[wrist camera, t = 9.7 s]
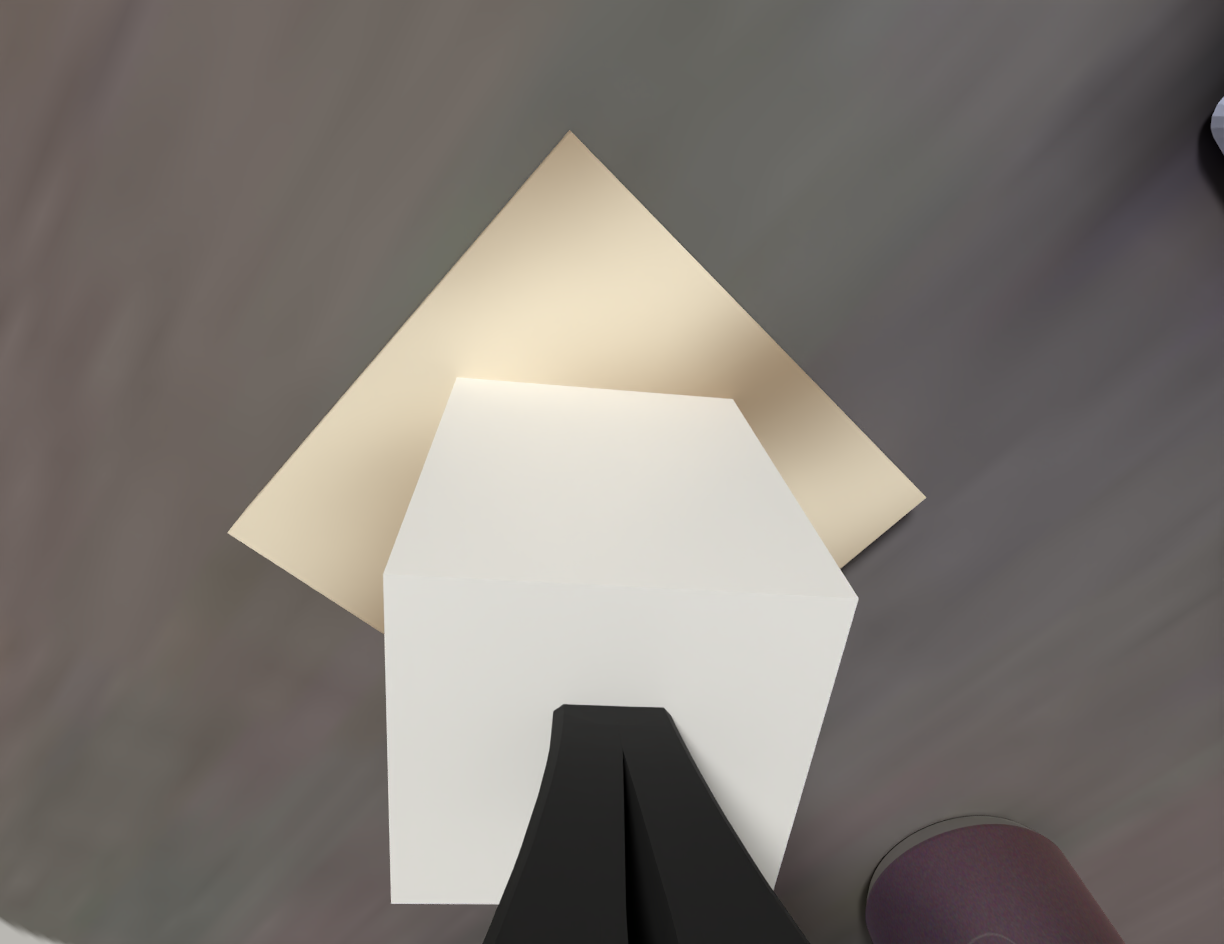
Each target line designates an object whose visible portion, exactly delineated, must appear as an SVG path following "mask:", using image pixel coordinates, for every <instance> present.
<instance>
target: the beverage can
mask: <svg viewBox="0 0 1224 944" xmlns="http://www.w3.org/2000/svg"><path fill="white" fill-rule="evenodd" d="M865 918H866V925H867V928H868V931H869V934H870V936H871V939H872V942H873V944H1125V942H1124V941H1123V940H1122V938H1121V937H1120V935H1119V934H1118V932H1117V931H1116V929H1115V928H1114V927H1113V925H1112V924H1111V922H1110V921H1109V919H1108V918H1107V916H1106V915H1105V914H1104V912H1103V911H1102V909H1101V908H1100V906H1099V905H1098V903H1097V902H1096V900H1095V899H1094V898H1093V896H1092V895H1091V893H1090V892H1089V890H1088V889H1087V887H1086V886H1085V885H1084V883H1083V882H1082V880H1081V879H1080V877H1079V876H1078V874H1077V873H1076V872H1075V870H1074V869H1073V867H1072V866H1071V864H1070V863H1069V861H1068V860H1067V859H1066V857H1065V856H1064V854H1063V853H1062V851H1061V850H1060V849H1059V848H1058V847H1057V846H1056V845H1055V844H1054V843H1053V842H1052V841H1050V840H1049V839H1047V838H1046V837H1044V836H1042V835H1041V834H1039V833H1037V832H1035V831H1033V830H1032V829H1030V828H1028V827H1026V826H1024V825H1022V824H1019V823H1017V822H1014V821H1011V820H1008V819H1004V818H999V817H993V816H967V817H960V818H954V819H950V820H946V821H942V822H939V823H936V824H934V825H931V826H928V827H926V828H924V829H922V830H920V831H918V832H916V833H914V834H912V835H911V836H909V837H907V838H906V839H904V840H903V841H902V842H900V843H899V844H898V845H897V846H895V847H894V848H893V849H892V850H891V851H890V852H889V853H888V854H887V855H886V856H885V857H884V859H883V860H882V861H881V862H880V864H879V865H878V867H877V869H876V870H875V872H874V875H873V877H872V879H871V883H870V886H869V891H868V897H867V903H866V912H865Z"/></svg>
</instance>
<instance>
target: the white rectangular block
mask: <svg viewBox="0 0 1224 944" xmlns="http://www.w3.org/2000/svg"><path fill="white" fill-rule="evenodd" d="M383 593H384V633H385V674H386V714H387V754H388V795H389V835H390V875H391V904H499V903H500V900H501V898H502V895H503V893H504V890H505V888H506V885H507V883H508V880H509V878H510V875H511V873H512V870H513V868H514V865H515V862H516V860H517V857H518V854H519V851H520V849H521V846H522V843H523V840H524V836H525V833H526V830H527V827H528V824H529V821H530V818H531V815H532V812H533V809H534V806H535V803H536V800H537V797H538V793H539V790H540V786H541V782H542V778H543V774H544V771H545V767H546V763H547V758H548V753H549V748H550V739H551V729H552V718H553V711H554V710H556V709H557V708H558V707H560V706H561V705H563V704H573V705H601V706H629V707H664V708H665V709H666V710H667V712H668V713H669V714H670V715H671V716H672V719H673V721H674V723H675V725H676V727H677V729H678V731H679V733H680V735H681V737H682V739H683V741H684V743H685V744H686V746H687V748H688V750H689V752H690V754H691V756H692V758H693V760H694V761H695V763H696V765H697V767H698V769H699V771H700V772H701V774H702V776H703V778H704V779H705V781H706V783H707V785H708V787H709V788H710V790H711V792H712V794H713V795H714V797H715V799H716V801H717V802H718V804H719V806H720V807H721V809H722V811H723V812H724V814H725V816H726V817H727V819H728V821H729V822H730V824H731V825H732V827H733V829H734V830H735V832H736V833H737V835H738V837H739V838H740V840H741V841H742V843H743V845H744V846H745V848H746V849H747V851H748V853H749V854H750V856H751V857H752V859H753V861H754V862H755V864H756V865H757V867H758V869H759V870H760V872H761V873H762V875H763V876H764V878H765V879H766V881H767V882H768V884H769V885H770V887H771V888H772V890H774V887H775V883H776V880H777V876H778V873H779V870H780V866H781V863H782V859H783V856H784V852H785V849H786V846H787V842H788V839H789V835H790V832H791V828H792V825H793V822H794V818H795V815H796V811H797V808H798V805H799V801H800V798H801V794H802V791H803V787H804V784H805V781H806V777H807V774H808V770H809V767H810V763H811V760H812V757H813V753H814V750H815V746H816V743H817V739H818V736H819V733H820V729H821V726H822V722H823V719H824V715H825V712H826V709H827V705H828V702H829V698H830V695H831V691H832V688H833V685H834V681H835V678H836V674H837V671H838V668H839V664H840V661H841V657H842V654H843V650H844V647H845V644H846V640H847V637H848V633H849V630H850V626H851V623H852V620H853V616H854V613H855V609H856V606H857V602H858V599H859V598H858V597H857V595H856V594H855V592H854V590H853V589H852V587H851V586H850V584H849V582H848V581H847V579H846V578H845V576H844V574H843V573H842V571H841V570H840V568H839V567H838V565H837V563H836V562H835V560H834V559H833V557H832V555H831V554H830V552H829V551H828V549H827V548H826V546H825V544H824V543H823V541H822V540H821V538H820V536H819V535H818V533H817V532H816V530H815V529H814V527H813V525H812V524H811V522H810V521H809V519H808V517H807V516H806V514H805V513H804V511H803V510H802V508H801V506H800V505H799V503H798V502H797V500H796V498H795V497H794V495H793V494H792V492H791V491H790V489H789V487H788V486H787V484H786V483H785V481H784V479H783V478H782V476H781V475H780V473H779V471H778V470H777V468H776V467H775V465H774V464H773V462H772V460H771V459H770V457H769V456H768V454H767V452H766V451H765V449H764V448H763V446H762V445H761V443H760V441H759V440H758V438H757V437H756V435H755V433H754V432H753V430H752V429H751V427H750V426H749V424H748V422H747V421H746V419H745V418H744V416H743V414H742V413H741V411H740V410H739V408H738V407H737V405H736V403H735V402H734V400H733V399H726V398H713V397H701V396H688V395H675V394H663V393H650V392H637V391H625V390H612V389H600V388H587V387H574V386H562V385H549V384H536V383H524V382H511V381H498V380H486V379H473V378H460V377H457V378H456V381H455V383H454V386H453V389H452V391H451V394H450V397H449V399H448V402H447V405H446V407H445V410H444V413H443V415H442V418H441V421H440V423H439V426H438V429H437V431H436V434H435V437H434V439H433V442H432V445H431V447H430V450H429V453H428V455H427V458H426V461H425V463H424V466H423V469H422V471H421V474H420V477H419V479H418V482H417V485H416V488H415V490H414V493H413V496H412V498H411V501H410V504H409V506H408V509H407V512H406V514H405V517H404V520H403V522H402V525H401V528H400V530H399V533H398V536H397V538H396V541H395V544H394V546H393V549H392V552H391V554H390V557H389V560H388V562H387V565H386V568H385V570H384V573H383Z"/></svg>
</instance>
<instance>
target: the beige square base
mask: <svg viewBox="0 0 1224 944" xmlns="http://www.w3.org/2000/svg"><path fill="white" fill-rule="evenodd" d="M457 377H460V378H473V379H486V380H498V381H511V382H524V383H536V384H549V385H562V386H574V387H587V388H600V389H612V390H625V391H637V392H650V393H663V394H675V395H688V396H701V397H713V398H726V399H733V400H734V402H735V403H736V405H737V407H738V408H739V410H740V411H741V413H742V414H743V416H744V418H745V419H746V421H747V422H748V424H749V426H750V427H751V429H752V430H753V432H754V433H755V435H756V437H757V438H758V440H759V441H760V443H761V445H762V446H763V448H764V449H765V451H766V452H767V454H768V456H769V457H770V459H771V460H772V462H773V464H774V465H775V467H776V468H777V470H778V471H779V473H780V475H781V476H782V478H783V479H784V481H785V483H786V484H787V486H788V487H789V489H790V491H791V492H792V494H793V495H794V497H795V498H796V500H797V502H798V503H799V505H800V506H801V508H802V510H803V511H804V513H805V514H806V516H807V517H808V519H809V521H810V522H811V524H812V525H813V527H814V529H815V530H816V532H817V533H818V535H819V536H820V538H821V540H822V541H823V543H824V544H825V546H826V548H827V549H828V551H829V552H830V554H831V555H832V557H833V559H834V560H835V562H836V563H837V565H838V567H839V568H840V569H841V568H842V567H843V566H844V565H845V564H847V563H848V562H849V561H850V560H851V559H853V558H854V557H855V556H856V555H857V554H859V553H860V552H861V551H862V550H863V549H865V548H866V547H867V546H868V545H870V544H871V543H872V542H873V541H874V540H876V539H877V538H878V537H879V536H880V535H882V534H883V533H884V532H885V531H886V530H888V529H889V528H890V527H891V526H893V525H894V524H895V523H896V522H897V521H899V520H900V519H901V518H902V517H903V516H905V515H906V514H907V513H908V512H909V511H911V510H912V509H913V508H914V507H915V506H917V505H918V504H919V503H920V502H922V501H923V500H924V499H925V498H926V497H925V496H924V495H923V494H922V493H921V492H920V491H919V490H918V488H917V487H916V486H915V485H914V484H913V483H912V482H911V481H910V480H909V479H908V478H907V477H906V476H905V475H904V474H903V473H902V472H901V471H900V470H899V469H898V468H897V467H896V466H895V465H894V464H893V463H892V462H891V461H890V460H889V459H888V458H887V457H886V456H885V454H884V453H883V452H882V451H881V450H880V449H879V448H878V447H877V446H876V445H875V444H874V443H873V442H872V441H871V440H870V439H869V438H868V437H867V436H866V435H865V434H864V433H863V432H862V431H861V430H860V429H859V428H858V427H857V426H856V425H855V424H854V423H853V422H852V421H851V419H850V418H849V417H848V416H847V415H846V414H845V413H844V412H843V411H842V410H841V409H840V408H839V407H838V406H837V405H836V404H835V403H834V402H833V401H832V400H831V399H830V398H829V397H828V396H827V395H826V394H825V393H824V392H823V391H822V390H821V389H820V388H819V387H818V385H817V384H816V383H815V382H814V381H813V380H812V379H811V378H810V377H809V376H808V375H807V374H806V373H805V372H804V371H803V370H802V369H801V368H800V367H799V366H798V365H797V364H796V363H795V362H794V361H793V360H792V359H791V358H790V357H789V356H788V355H787V354H786V353H785V351H784V350H783V349H782V348H781V347H780V346H779V345H778V344H777V343H776V342H775V341H774V340H773V339H772V338H771V337H770V336H769V335H768V334H767V333H766V332H765V331H764V330H763V329H762V328H761V327H760V326H759V325H758V324H757V323H756V322H755V321H754V320H753V319H752V317H751V316H750V315H749V314H748V313H747V312H746V311H745V310H744V309H743V308H742V307H741V306H740V305H739V304H738V303H737V302H736V301H735V300H734V299H733V298H732V297H731V296H730V295H729V294H728V293H727V292H726V291H725V290H724V289H723V288H722V287H721V286H720V285H719V283H718V282H717V281H716V280H715V279H714V278H713V277H712V276H711V275H710V274H709V273H708V272H707V271H706V270H705V269H704V268H703V267H702V266H701V265H700V264H699V263H698V262H697V261H696V260H695V259H694V258H693V257H692V256H691V255H690V254H689V253H688V252H687V251H686V249H685V248H684V247H683V246H682V245H681V244H680V243H679V242H678V241H677V240H676V239H675V238H674V237H673V236H672V235H671V234H670V233H669V232H668V231H667V230H666V229H665V228H664V227H663V226H662V225H661V224H660V223H659V222H658V221H657V220H656V219H655V218H654V217H653V215H652V214H651V213H650V212H649V211H648V210H647V209H646V208H645V207H644V206H643V205H642V204H641V203H640V202H639V201H638V200H637V199H636V198H635V197H634V196H633V195H632V194H631V193H630V192H629V191H628V190H627V189H626V188H625V187H624V186H623V185H622V184H621V183H620V182H619V180H618V179H617V178H616V177H615V176H614V175H613V174H612V173H611V172H610V171H609V170H608V169H607V168H606V167H605V166H604V165H603V164H602V163H601V162H600V161H599V160H598V159H597V158H596V157H595V156H594V155H593V154H592V153H591V152H590V151H589V150H588V149H587V148H586V146H585V145H584V144H583V143H582V142H581V141H580V140H579V139H578V138H577V137H576V136H575V135H574V134H573V133H572V132H571V131H570V130H569V131H568V133H567V134H566V135H565V136H564V137H563V139H562V140H561V141H560V142H559V143H558V144H557V146H556V147H555V148H554V149H553V150H552V151H551V153H550V154H549V155H548V156H547V157H546V158H545V160H544V161H543V162H542V163H541V164H540V165H539V167H538V168H537V169H536V170H535V171H534V172H533V174H532V175H531V176H530V177H529V178H528V179H527V181H526V182H525V183H524V184H523V185H522V187H521V188H520V189H519V190H518V191H517V192H516V194H515V195H514V196H513V197H512V198H511V199H510V201H509V202H508V203H507V204H506V205H505V206H504V208H503V209H502V210H501V211H500V212H499V213H498V215H497V216H496V217H495V218H494V219H493V220H492V222H491V223H490V224H489V225H488V226H487V227H486V229H485V230H484V231H483V232H482V233H481V235H480V236H479V237H478V238H477V239H476V240H475V242H474V243H473V244H472V245H471V246H470V247H469V249H468V250H467V251H466V252H465V253H464V254H463V256H462V257H461V258H460V259H459V260H458V261H457V263H456V264H455V265H454V266H453V267H452V268H451V270H450V271H449V272H448V273H447V274H446V275H445V277H444V278H443V279H442V280H441V281H440V282H439V284H438V285H437V286H436V287H435V288H434V290H433V291H432V292H431V293H430V294H429V295H428V297H427V298H426V299H425V300H424V301H423V302H422V304H421V305H420V306H419V307H418V308H417V309H416V311H415V312H414V313H413V314H412V315H411V316H410V318H409V319H408V320H407V321H406V322H405V323H404V325H403V326H402V327H401V328H400V329H399V330H398V332H397V333H396V334H395V335H394V336H393V338H392V339H391V340H390V341H389V342H388V343H387V345H386V346H385V347H384V348H383V349H382V350H381V352H380V353H379V354H378V355H377V356H376V357H375V359H374V360H373V361H372V362H371V363H370V364H369V366H368V367H367V368H366V369H365V370H364V371H363V373H362V374H361V375H360V376H359V377H358V378H357V380H356V381H355V382H354V383H353V384H352V386H351V387H350V388H349V389H348V390H347V391H346V393H345V394H344V395H343V396H342V397H341V398H340V400H339V401H338V402H337V403H336V404H335V405H334V407H333V408H332V409H331V410H330V411H329V412H328V414H327V415H326V416H325V417H324V418H323V419H322V421H321V422H320V423H319V424H318V425H317V426H316V428H315V429H314V430H313V431H312V432H311V434H310V435H309V436H308V437H307V438H306V439H305V441H304V442H303V443H302V444H301V445H300V446H299V448H298V449H297V450H296V451H295V452H294V453H293V455H292V456H291V457H290V458H289V459H288V460H287V462H286V463H285V464H284V465H283V466H282V467H281V469H280V470H279V471H278V472H277V473H276V474H275V476H274V477H273V478H272V479H271V480H270V482H269V483H268V484H267V485H266V486H265V487H264V489H263V490H262V491H261V492H260V493H259V494H258V496H257V497H256V498H255V499H254V500H253V501H252V503H251V504H250V505H249V506H248V507H247V508H246V510H245V511H244V512H243V513H242V515H241V516H240V517H239V519H238V520H237V521H236V522H235V524H234V525H233V526H232V528H231V529H230V530H229V531H228V533H229V534H230V535H232V536H233V537H235V538H236V539H238V540H239V541H241V542H242V543H244V544H246V545H247V546H249V547H250V548H252V549H253V550H255V551H256V552H258V553H259V554H261V555H263V556H264V557H266V558H267V559H269V560H270V561H272V562H273V563H275V564H276V565H278V566H280V567H281V568H283V569H284V570H286V571H287V572H289V573H290V574H292V575H293V576H295V577H297V578H298V579H300V580H301V581H303V582H304V583H306V584H307V585H309V586H310V587H312V588H314V589H315V590H317V591H318V592H320V593H321V594H323V595H324V596H326V597H327V598H329V599H331V600H332V601H334V602H335V603H337V604H338V605H340V606H341V607H343V608H344V609H346V610H348V611H349V612H351V613H352V614H354V615H355V616H357V617H358V618H360V619H361V620H363V621H365V622H366V623H368V624H369V625H371V626H372V627H374V628H375V629H377V630H378V631H380V632H382V633H383V634H385V633H384V593H383V573H384V570H385V568H386V565H387V562H388V560H389V557H390V554H391V552H392V549H393V546H394V544H395V541H396V538H397V536H398V533H399V530H400V528H401V525H402V522H403V520H404V517H405V514H406V512H407V509H408V506H409V504H410V501H411V498H412V496H413V493H414V490H415V488H416V485H417V482H418V479H419V477H420V474H421V471H422V469H423V466H424V463H425V461H426V458H427V455H428V453H429V450H430V447H431V445H432V442H433V439H434V437H435V434H436V431H437V429H438V426H439V423H440V421H441V418H442V415H443V413H444V410H445V407H446V405H447V402H448V399H449V397H450V394H451V391H452V389H453V386H454V383H455V381H456V378H457Z"/></svg>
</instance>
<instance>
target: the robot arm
mask: <svg viewBox="0 0 1224 944" xmlns="http://www.w3.org/2000/svg"><path fill="white" fill-rule="evenodd" d="M1211 131H1212V134H1213V138H1214V139H1215V141H1216V143H1217V144H1218V146H1219V148H1220V149H1221V151H1222V153H1223V154H1224V97H1223V98H1222V99H1221V101H1220V102H1219V103H1218V104H1217V106H1216V108H1215V111H1214V113H1213V115H1212V120H1211ZM483 944H810V943H809V941H808V940H807V939H806V937H805V936H804V934H803V933H802V931H801V930H800V929H799V927H798V926H797V924H796V923H795V921H794V920H793V919H792V917H791V916H790V914H789V913H788V911H787V910H786V909H785V907H784V906H783V904H782V903H781V901H780V900H779V899H778V897H777V896H776V894H775V893H774V891H773V890H772V888H771V887H770V885H769V884H768V882H767V881H766V879H765V878H764V876H763V875H762V873H761V872H760V870H759V869H758V867H757V865H756V864H755V862H754V861H753V859H752V857H751V856H750V854H749V853H748V851H747V849H746V848H745V846H744V845H743V843H742V841H741V840H740V838H739V837H738V835H737V833H736V832H735V830H734V829H733V827H732V825H731V824H730V822H729V821H728V819H727V817H726V816H725V814H724V812H723V811H722V809H721V807H720V806H719V804H718V802H717V801H716V799H715V797H714V795H713V794H712V792H711V790H710V788H709V787H708V785H707V783H706V781H705V779H704V778H703V776H702V774H701V772H700V771H699V769H698V767H697V765H696V763H695V761H694V760H693V758H692V756H691V754H690V752H689V750H688V748H687V746H686V744H685V743H684V741H683V739H682V737H681V735H680V733H679V731H678V729H677V727H676V725H675V723H674V721H673V719H672V716H671V715H670V714H669V713H668V712H667V710H666V709H665V708H664V707H629V706H601V705H573V704H563V705H561V706H560V707H558V708H557V709H556V710H554V711H553V718H552V729H551V739H550V748H549V753H548V758H547V763H546V767H545V771H544V774H543V778H542V782H541V786H540V790H539V793H538V797H537V800H536V803H535V806H534V809H533V812H532V815H531V818H530V821H529V824H528V827H527V830H526V833H525V836H524V840H523V843H522V846H521V849H520V851H519V854H518V857H517V860H516V862H515V865H514V868H513V870H512V873H511V875H510V878H509V880H508V883H507V885H506V888H505V890H504V893H503V895H502V898H501V900H500V903H499V905H498V907H497V910H496V912H495V915H494V917H493V920H492V922H491V925H490V927H489V930H488V932H487V935H486V937H485V939H484V942H483Z"/></svg>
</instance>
